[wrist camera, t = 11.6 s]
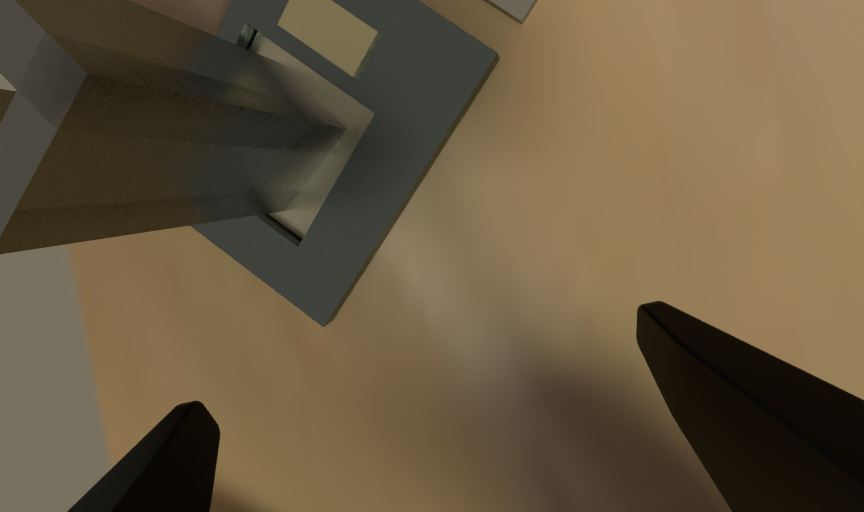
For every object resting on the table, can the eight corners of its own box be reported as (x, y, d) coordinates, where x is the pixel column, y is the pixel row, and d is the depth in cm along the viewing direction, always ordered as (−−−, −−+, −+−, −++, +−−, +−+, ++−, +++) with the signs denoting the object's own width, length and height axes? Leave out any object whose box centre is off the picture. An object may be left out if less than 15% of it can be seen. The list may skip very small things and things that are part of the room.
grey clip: (348, 129, 20) (88, 73, 9) (284, 211, 22) (-10, 256, 10) (278, 62, 20) (-66, -80, 9) (220, 147, 22) (-140, 120, 10)
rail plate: (499, 59, 18) (496, 51, 17) (332, 320, 22) (321, 328, 21) (287, -83, 19) (271, -98, 18) (163, 191, 23) (143, 192, 22)
